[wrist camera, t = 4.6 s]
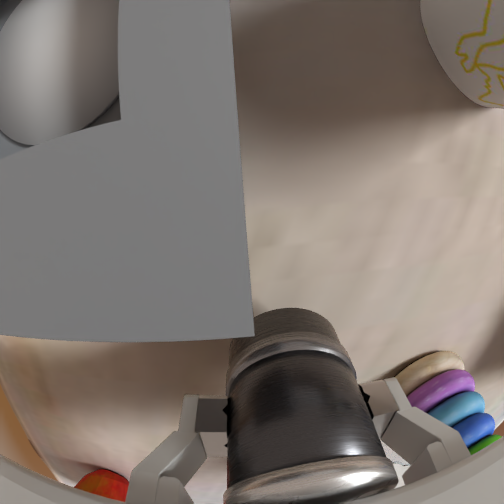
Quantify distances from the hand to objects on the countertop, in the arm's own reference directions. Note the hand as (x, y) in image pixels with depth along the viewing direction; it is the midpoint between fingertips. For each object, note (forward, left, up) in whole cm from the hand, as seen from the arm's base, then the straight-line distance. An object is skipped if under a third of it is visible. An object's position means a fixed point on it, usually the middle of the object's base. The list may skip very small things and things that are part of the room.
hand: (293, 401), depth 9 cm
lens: (0, 0, -3) cm, 3 cm away
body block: (+12, +6, -5) cm, 14 cm away
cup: (+15, -12, -6) cm, 20 cm away
